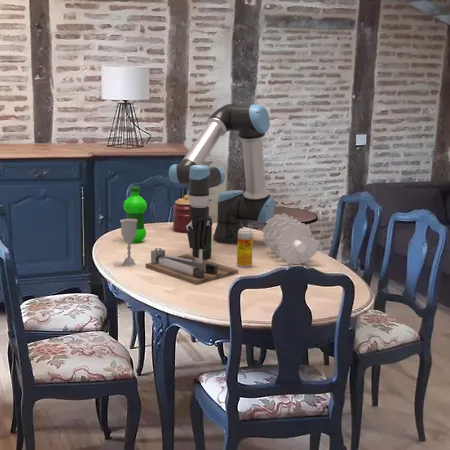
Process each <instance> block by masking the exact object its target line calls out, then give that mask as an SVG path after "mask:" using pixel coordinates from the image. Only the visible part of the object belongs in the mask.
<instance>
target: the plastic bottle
mask: <svg viewBox="0 0 450 450" xmlns="http://www.w3.org/2000/svg"><path fill="white" fill-rule="evenodd" d="M129 188H130V190H129V192H131V193H130V194H131V195H129V197H127V198H126V199H125V200H124V201H123V205H122V208H123V211H125V213H126V215H125V216H126V218H125V219H136V220H138V221H137V223H136V235H135V238H134V240H133V242H132V243H133V244H138V243H141V242H142V241H143V240H144V239H145V238H146V235H147V231H146V228H145V212H146V211H147V207H148V203H147V201H146V200H145V199H144V198H143V197H142V196H140V194H139V193H140V192H141V187H140V186H130V187H129ZM132 243H131V244H132Z"/></svg>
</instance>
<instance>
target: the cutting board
mask: <svg viewBox="0 0 450 450" xmlns="http://www.w3.org/2000/svg"><path fill="white" fill-rule="evenodd" d="M177 257H179V258H184V259H189V260H194V261H195V257H194V256H193V255H189V254H183V255H179V256H178V255H177ZM202 262H204V263H209V264H214V265H218V270H217V273H216V274H212V273H208V272H204V278H202V279H199V278H196V277H193V276H190V275H187V274H184V273H181V272H177V271H174V270H171V269H168V268H165V267H162V266H159V264H156V265H155V264H152V263H151V262H148V263H145V268H146V269H148V270H149V269H150V270H152V271H154V272H157V273H161V274H164V275H167V276H170V277H173V278H175V279H178V280H181V281H184V282H188V283H191V284H193V285H201V284H206V283H208V282H212V281H216V280H219V279H223V278H227V277H231V276H234V275H237V274H239V269H237V268H234V267H231V266H230V267H229V266H227V265H223V264H220V263H216V262H215V261H214V262H213V261H210V260H208V259H207V260H206V259H202Z"/></svg>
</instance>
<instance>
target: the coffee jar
mask: <svg viewBox="0 0 450 450" xmlns="http://www.w3.org/2000/svg"><path fill="white" fill-rule="evenodd" d="M207 217H208V220H209V221H210V222H213V218H212V216H211V215H210V214H209V215H208V216H207ZM212 231H213V225H212V226H211V230H210V235H209V240H208V245H207V246H205V247H206V248H205V249H203V256H202V259H204V260H206V259H207V260H208V259H210V258H211V257H212V240H213V239H212V238H213V237H212V236H213V235H212V234H213V232H212ZM191 250H192V255H191V256H194V249H192V248H191Z"/></svg>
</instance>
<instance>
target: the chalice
mask: <svg viewBox="0 0 450 450" xmlns="http://www.w3.org/2000/svg"><path fill="white" fill-rule="evenodd" d="M137 221H138V220H136V219H126V218H124V219H120V220H119V222H120V225H121V226H120V227H121V228H120V229H121V230H120V231H121V236H122V238H123V240H124V242H125V244H127V247H126V249H127V252H126V253H127V257H125V258H124V261H123V263H122V265H123V266H125V267H126V266H127V267H132V266H133V267H134V266H135V265H136V262H135V259H134V258H132V256H131V255H132V251H131V249H132V247H131V244H132V242H133V240H134V238H135V235H136V223H137Z"/></svg>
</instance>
